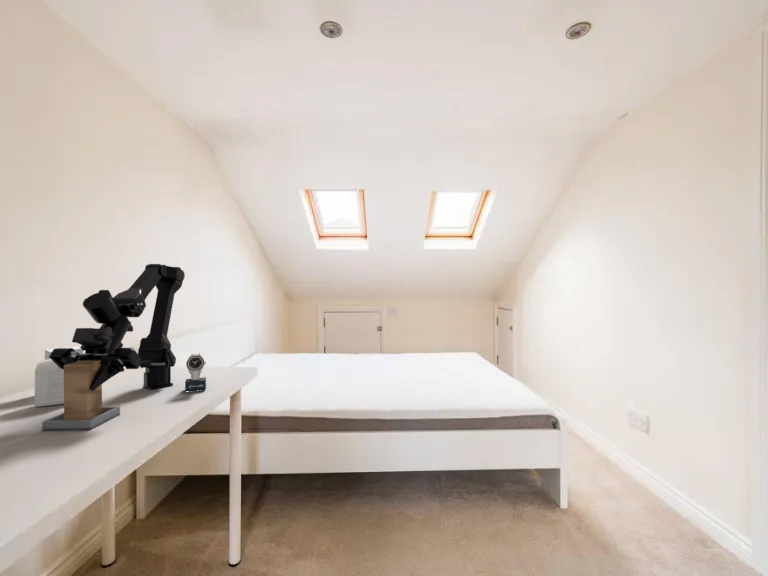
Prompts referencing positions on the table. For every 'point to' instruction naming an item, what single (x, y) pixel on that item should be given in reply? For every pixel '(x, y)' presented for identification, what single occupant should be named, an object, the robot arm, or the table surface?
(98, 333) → the robot arm
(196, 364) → the watch
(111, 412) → the tray
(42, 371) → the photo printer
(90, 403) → the walnut block
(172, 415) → the table surface
